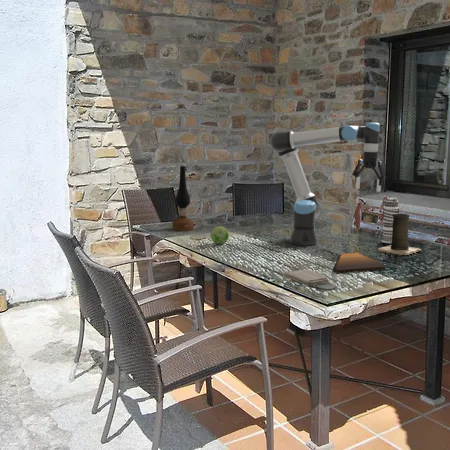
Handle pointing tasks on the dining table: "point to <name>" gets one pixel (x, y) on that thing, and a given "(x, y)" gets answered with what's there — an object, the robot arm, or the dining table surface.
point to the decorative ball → (219, 235)
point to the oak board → (400, 252)
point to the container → (400, 232)
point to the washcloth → (307, 277)
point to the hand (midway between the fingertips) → (367, 190)
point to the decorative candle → (389, 218)
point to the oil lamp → (182, 205)
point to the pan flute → (355, 263)
